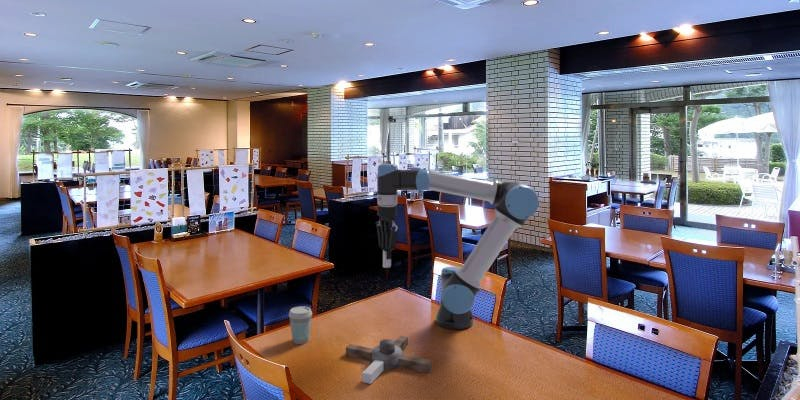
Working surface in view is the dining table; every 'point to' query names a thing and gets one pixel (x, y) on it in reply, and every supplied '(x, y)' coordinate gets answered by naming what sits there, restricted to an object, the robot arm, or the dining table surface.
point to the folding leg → (372, 371)
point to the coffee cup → (300, 324)
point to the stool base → (390, 355)
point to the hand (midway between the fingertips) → (386, 266)
